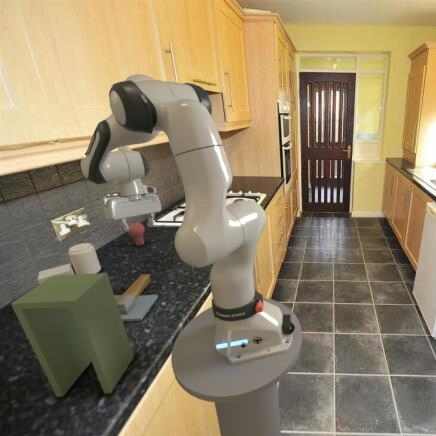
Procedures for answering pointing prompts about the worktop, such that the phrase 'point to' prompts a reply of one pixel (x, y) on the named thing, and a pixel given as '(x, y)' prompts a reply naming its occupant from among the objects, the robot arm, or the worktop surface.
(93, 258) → the beverage can
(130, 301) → the mallet
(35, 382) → the worktop surface
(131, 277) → the worktop surface
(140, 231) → the light bulb
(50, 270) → the small box
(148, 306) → the mat
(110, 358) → the green arch block
